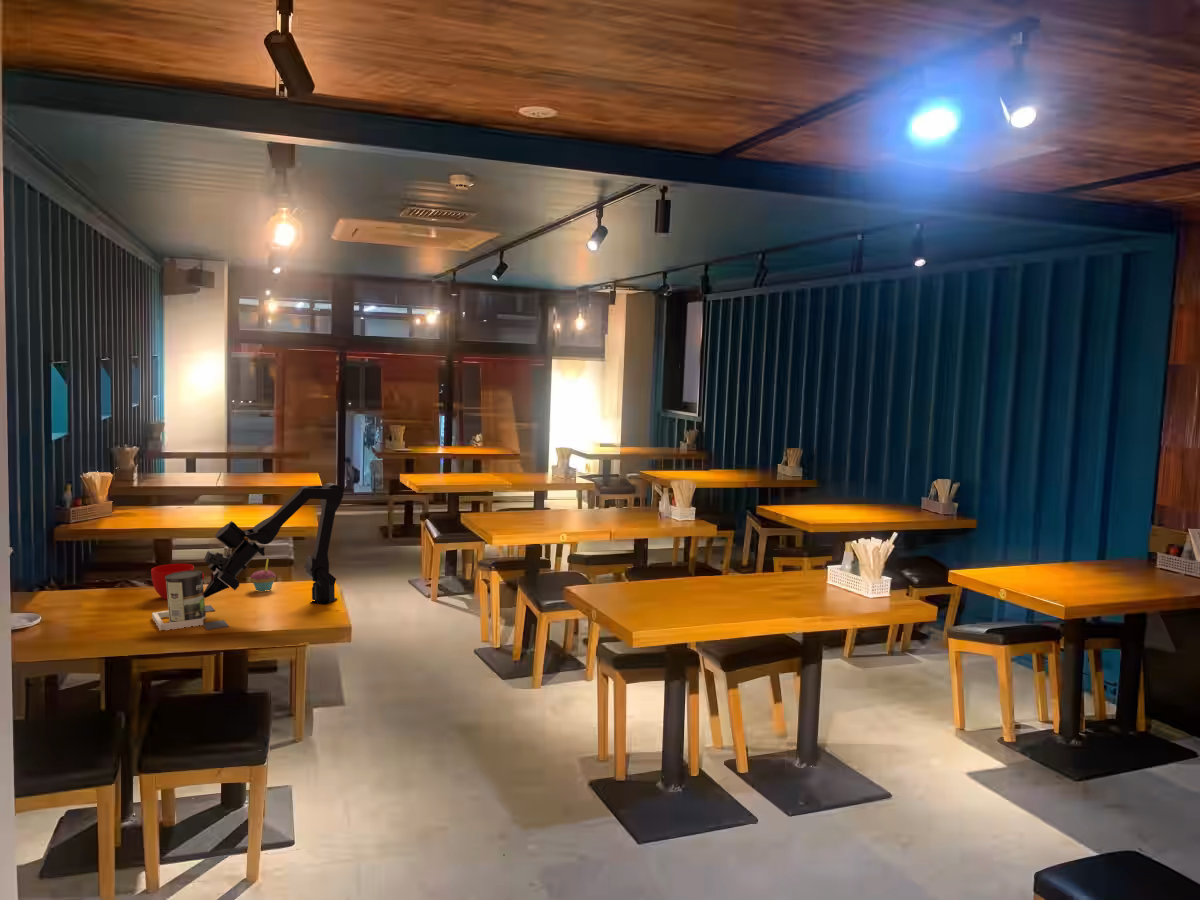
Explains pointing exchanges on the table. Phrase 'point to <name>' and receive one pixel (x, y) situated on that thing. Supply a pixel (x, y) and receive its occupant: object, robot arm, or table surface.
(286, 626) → the table surface
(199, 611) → the coffee can
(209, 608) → the pair of grey pads
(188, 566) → the ceramic cup
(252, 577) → the cupcake
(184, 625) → the dock
